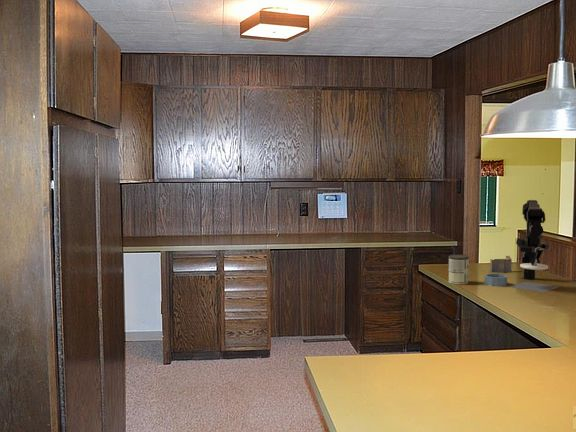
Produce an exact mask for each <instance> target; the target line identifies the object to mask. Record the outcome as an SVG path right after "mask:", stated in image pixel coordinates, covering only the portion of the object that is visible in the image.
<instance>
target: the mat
mask: <svg viewBox="0 0 576 432" xmlns="http://www.w3.org/2000/svg"><path fill="white" fill-rule="evenodd" d="M508 288H511V289H518V290H525V291H531V292H535V293H536V292H538V293H545V292H550V291H552V290H555V289H558V288H560V286H557V285H556V286H555V285H551V284H550V285H549V284H543V283H538V282H537V283H535V282H530V281H523V282H520V283H517V284H516V283H515V284H513V285H510V286H509V285H508Z"/></svg>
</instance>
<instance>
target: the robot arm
mask: <svg viewBox="0 0 576 432" xmlns="http://www.w3.org/2000/svg"><path fill="white" fill-rule="evenodd" d="M521 212H522V213H521V214H522V215H523V219H524V221H525V223H526V237H525V238H522V237H519V238H516V241H515V244H516V245H517V246H518V248H519V252H522V253H523V254H522V257H521V261H520V262H521V263H520V264H524V263H531V265H534V263H535V260H536V258H537V264H541V259H540V258H541V257H542V254H544V252H545V250H549V246H550V245H549V244H548V243H547V242H542V238H543V235H542V234H543V233H544V227H543V226H542V224H544V223H545V222H546V213H545V211H544V210H543V209H542V207H540V204H539V203H538V200H535V199H529V200H526V203H524V204H523V205H522V211H521ZM521 279H523V280H530V281H533V280H538V277H536V270H532V269H524V268H523V277H521Z"/></svg>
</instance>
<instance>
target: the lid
mask: <svg viewBox="0 0 576 432" xmlns="http://www.w3.org/2000/svg"><path fill="white" fill-rule="evenodd" d="M519 267H520V268H521V269H523V270H524V269H532V270H535V271H536V270H537V271H539V270H543V271H544V270H548V269H549V265H547V264H544V263H543V264H542V263H540V264H537V258H536V260H535V263H534V265H531V263H524V264H521V263H520V264H519Z"/></svg>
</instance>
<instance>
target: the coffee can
mask: <svg viewBox="0 0 576 432" xmlns="http://www.w3.org/2000/svg"><path fill="white" fill-rule="evenodd" d="M469 258H470V257H469V255H465V254H449V255H448V283H450V284H454V285H465V284H466V285H467V284H469Z"/></svg>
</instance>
